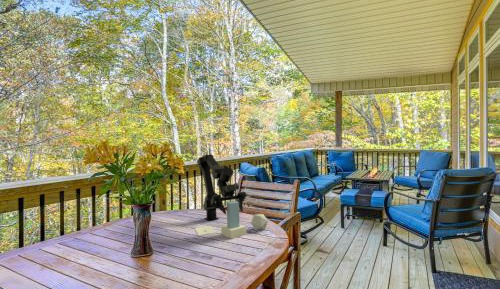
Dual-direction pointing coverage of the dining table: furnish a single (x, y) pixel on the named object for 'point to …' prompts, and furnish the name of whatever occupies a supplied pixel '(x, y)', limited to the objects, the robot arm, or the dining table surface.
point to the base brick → (233, 231)
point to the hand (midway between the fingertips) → (234, 212)
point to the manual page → (204, 230)
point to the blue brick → (233, 214)
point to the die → (259, 222)
